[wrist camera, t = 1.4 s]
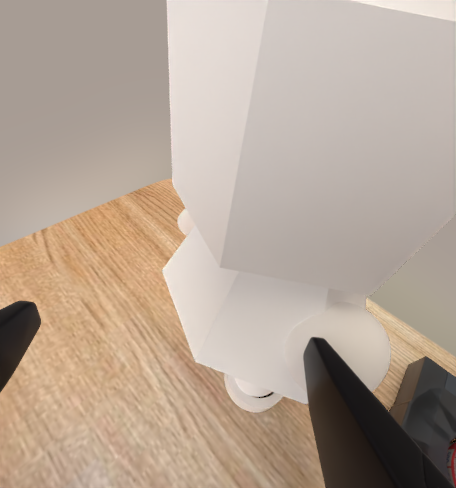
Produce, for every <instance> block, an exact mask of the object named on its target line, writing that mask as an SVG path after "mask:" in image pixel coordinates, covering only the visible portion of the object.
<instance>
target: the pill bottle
mask: <svg viewBox="0 0 456 488" xmlns="http://www.w3.org/2000/svg"><path fill="white" fill-rule="evenodd" d="M446 463H447V468H448V473H449V478H450V482H451V483H452V484H453V485H454V487H455V488H456V442H454V443H449V449H448V454H447V459H446Z"/></svg>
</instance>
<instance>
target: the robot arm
mask: <svg viewBox="0 0 456 488" xmlns="http://www.w3.org/2000/svg"><path fill="white" fill-rule="evenodd" d="M40 324H41V319H40V316H39V313H38V310H37V307H36V304H35V303H34V302H28V301H18V302H15V303H13V304H11V305H9V306H7V307H5V308H3V309H1V310H0V392H1V391H2V389H3V388H4V387H5V385H6V384H7V382H8V381H9V379H10V378H11V376H12V375H13V373H14V371H15V370H16V368H17V366H18V365H19V363H20V361H21V359H22V357H23V356H24V354H25V352H26V350H27V349H28V347H29V345H30V343H31V341H32V340H33V338H34V336H35V334H36V333H37V331H38V329H39V327H40ZM303 361H304V370H305V379H306V388H307V397H308V405H309V411H310V416H311V421H312V426H313V430H314V435H315V440H316V444H317V449H318V454H319V459H320V463H321V468H322V473H323V477H324V482H325V487H326V488H455V487H454V485H453V484H452V483H451V482H450V481H449V480H448V479H447V478H446V477H445V475H444V474H443V473H442V472H441V471H440V470H439V469H438V468H437V466H436V465H435V464H434V463H433V462H432V461H431V460H430V458H429V457H428V456H427V455H426V454H425V453H423V452H422V450H421V448H420V447H419V446H418V445H417V444H416V443H415V441H414V440H413V439H412V438H411V437H410V436H409V435H408V433H407V432H406V431H405V430H404V429H403V428H402V427H401V425H400V424H399V423H398V422H397V421H396V420H395V419H394V417H393V416H392V415H391V414H390V413H389V412H388V411H387V409H386V408H385V407H384V406H383V405H382V404H381V403H380V401H379V400H378V399H377V398H376V397H375V396H374V395H373V393H372V392H371V391H370V390H369V389H368V388H367V386H366V385H365V384H364V383H363V382H362V381H361V380H360V378H359V377H358V376H357V375H356V374H355V373H354V372H353V370H352V369H351V368H350V367H349V366H348V365H347V364H346V362H345V361H344V360H343V359H342V358H341V357H340V356H339V354H338V353H337V352H336V351H335V350H334V349H333V348H332V346H331V345H330V344H329V343H328V342H327V341H326V340H325V339H324V338H320V337H311V338H310V340H309V342H308V344H307V346H306V348H305V351H304V354H303Z"/></svg>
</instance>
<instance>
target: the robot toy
mask: <svg viewBox="0 0 456 488" xmlns="http://www.w3.org/2000/svg"><path fill="white" fill-rule="evenodd" d="M167 25H168V53H169V54H168V55H169V86H170V119H171V152H172V183H173V187H174V188H175V190H176V192H177V194H178V195H179V197H180V199H181V201H182V202H183V204H184V206H185V209H184V210H183V211H182V213H181V214H180V215H179V217H178V227H179V229H180V231H181V232H182V233H183V234H185V235H187V237H186V238H185V240H184V241H183V242H182V244H181V245H180V246H179V248H178V249H177V250H176V252H175V253H174V255H173V256H172V257H171V259H170V260H169V261H168V263H167V264H166V266H165V267H164V268H163V270H162V272H163V275H164V278H165V280H166V283H167V286H168V289H169V291H170V294H171V297H172V300H173V302H174V305H175V308H176V311H177V313H178V316H179V319H180V322H181V325H182V327H183V330H184V333H185V336H186V338H187V341H188V344H189V347H190V349H191V352H192V355H193V358H194V360H195V362H197V363H199V364H202V365H205V366H207V367H210V368H212V369H215V370H217V371H220V372H223V373H224V382H225V387H226V390H227V393H228V395H229V396H230V398H231V399H232V401H233V402H234V403H235V404H236V405H238V406H239V407H240V408H242V409H244V410H246V411H248V412H254V413H258V412H264V411H266V410H268V409H270V408H272V407H273V406H274V405H276V404H277V403H278V402H279V401H280V400H281V399H282V398H283V396H285V397H287V398H290V399H293V400H295V401H298V402H300V403H303V404H305V405H306V404H307V403H308V397H307V388H306V379H305V370H304V361H303V354H304V351H305V348H306V346H307V344H308V342H309V340H310V338H311V337H320V338H324V339H325V340H326V341H327V342H328V343H329V344H330V345H331V346H332V348H333V349H334V350H335V351H336V352H337V353H338V354H339V356H340V357H341V358H342V359H343V360H344V361H345V362H346V364H347V365H348V366H349V367H350V368H351V369H352V370H353V372H354V373H355V374H356V375H357V376H358V377H359V378H360V380H361V381H362V382H363V383H364V384H365V385H366V386H367V388H368V389H369V390H370V391H371V392H372V391H373V390H375V389H376V388H377V387H378V386H379V385H380V383H381V382H382V381H383V379H384V378H385V376H386V374H387V371H388V369H389V366H390V360H391V346H390V342H389V338H388V335H387V333H386V331H385V329H384V327H383V326H382V325H381V323H380V322H379V321H378V320H377V319H376V318H375V317H374V316H373V315H372V314H371V313H370V312H368V311H367V310H365V307H366V295H367V296H371V295H373V293H375V292H376V290H378V289H379V288H380V287H381V286H382V285H383V284H384V283H385V282H386V281H387V280H388V279H389V278H390V277H391V276H392V275H393V274H394V273H395V272H396V271H397V270H399V269H400V268H401V267H402V265H404V264H405V263H406V262H407V261H408V260H409V259H410V258H411V257H412V256H413V255H414V254H415V253H416V252H417V251H418V250H419V249H420V248H421V247H422V246H423V245H424V244H426V243H427V242H428V241H429V240H430V239H431V238H432V237H433V236H434V235H435V234H436V233H437V232H438V231H439V230H440V229H441V228H442V227H443V226H444V225H445V224H446V223H447V222H448V221H449V220H450V219H451V218H453V217H454V216H455V215H456V0H167ZM271 392H272V394H271V396H269V397H266V398H255V397H262V396H265V395H268V394H270V393H271ZM252 396H253V397H252Z"/></svg>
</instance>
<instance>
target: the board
mask: <svg viewBox="0 0 456 488" xmlns="http://www.w3.org/2000/svg"><path fill="white" fill-rule="evenodd" d="M389 413H390V414H391V415H392V416H393V417H394V419H395V420H396V421H397V422H398V423H399V424H400V425H401V427H402V428H403V429H404V430H405V431H406V432H407V433H408V435H409V436H410V437H411V438H412V439H413V440H414V441H415V443H416V444H417V445H418V446H419V447H420V448H421V450H422V452H423V453H425V454H426V455H427V456H428V457H429V458H430V460H431V461H432V462H433V463H434V464H435V465H436V466H437V468H438V469H439V470H440V471H441V472H442V473H443V474H444V475H445V477H446V478H447V479H448V480H449V481H450V478H449V473H448V468H447V463H446V459H447V454H448V449H449V443H450V442H451V441H452V440H453V439H455V438H456V377H455V376H453V375H452V374H450V373H449V372H447V371H446V370H445V369H443V368H442V367H441V366H439V365H438V364H436V363H435V362H434V361H432V360H431V359H429V358H428V357H426V356H425V357H423V358H421V359H419V360H417V361H415V362H413V363H411V364H409V365H408V368H407V371H406V373H405V376H404V379H403V382H402V384H401V387H400V390H399V393H398V396H397V398H396V401H395V404H394V406H392V407H391V409H390V412H389Z"/></svg>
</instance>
